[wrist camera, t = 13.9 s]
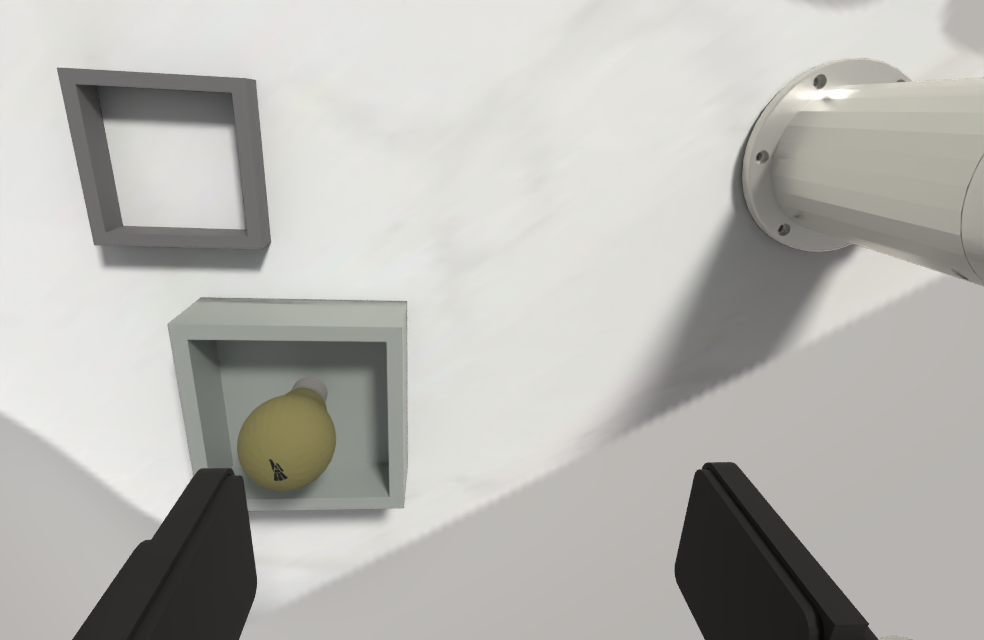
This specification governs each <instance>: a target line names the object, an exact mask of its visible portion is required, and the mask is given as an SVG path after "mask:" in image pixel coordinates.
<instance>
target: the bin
mask: <svg viewBox="0 0 984 640" xmlns="http://www.w3.org/2000/svg"><path fill="white" fill-rule="evenodd" d="M168 330H169V336H170V342H171V348H172V354H173V359H174V365H175V371H176V377H177V383H178V389H179V394H180V400H181V406H182V412H183V418H184V424H185V429H186V435H187V441H188V447H189V453H190V458H191V464H192V470H193V476H194V475H195V474H196V472H197V471H198V470H199V469H201V468H231V469H233V471H234V474H235V475H241V476H242V477H243V479H244V485H245V493H246V500H247V508H248V511H286V510H339V509H392V508H404V502H405V491H406V480H407V468H408V426H407V301H362V300H308V299H254V298H200V299H198V300H197V301H196V302H195V303H193V304H192V305H191V306H190V307H188V308H187V309H186V310H185V311H183V312H182V313H181V314H180V315H178V316H177V317H176V318H174V319H173V320H172V321H171V322H169V323H168ZM305 377H314V378H317V379H319V380H321V381H322V382H323V383H324V384H325V386H326V388H327V391H328V395H327V399H326V401H325V404H326V407H327V412H328V413H329V415H330V417H331V419H332V421H333V424H334V427H335V431H336V446H335V452H334V454H333V457H332V460H331V462H330V464H329V465H328V467H327V468H326V470H325V471H324V472H323V473H322V474H321V475H320V476H319V477H318V478H317V479H316V480H315V481H313V482H311V483H310V484H308V485H306V486H304V487H301V488H299V489H296V490H291V491H274V490H270V489H266V488H264V487H262V486H259V485H258V484H256V483H255V482H253V481H252V480H251V479H250V478H249V477H248V476H247V475H246V473H245V472H244V470H243V469H242V466H241V464H240V462H239V459H238V454H237V440H238V436H239V432H240V429H241V427H242V425H243V423H244V421H245V420H246V419H247V417H248V416H249V415H250V414H251V412H252V411H253V410H255V409H256V408H257V407H258V406H260V405H261V404H262V403H264V402H266V401H268V400H270V399H272V398H275V397H278V396H282V395H285V394H287V393H288V392H290V391H291V390H292V388H293V386H294V384H295V383H296V382H297V381H298V380H300V379H302V378H305Z"/></svg>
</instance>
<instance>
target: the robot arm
mask: <svg viewBox="0 0 984 640" xmlns="http://www.w3.org/2000/svg"><path fill="white" fill-rule="evenodd" d="M813 81H814V84H813ZM757 154H758V158H757V159H756V156H757ZM742 183H743V192H744V197H745V200H746V203H747V206H748V210H749V212H750V213H751V215H752V217H753V218H754V220H755V222H756V224H757V225H758V226H759V227H760V228H761V229H762V230H763V231H764V232H765V233H766V234H767V235H768V236H770V237H772V238H773V239H775V240H776V241H778V242H779V243H782V244H785V245H787V246H789V247H792V248H795V249H799V250H803V251H813V252H824V251H830V250H836V249H840V248H843V247H846V246H849V245H852V244H856V245H859V246H862V247H865V248H868V249H871V250H874V251H877V252H880V253H883V254H887V255H890V256H893V257H896V258H899V259H902V260H905V261H908V262H911V263H914V264H917V265H920V266H923V267H926V268H929V269H932V270H935V271H938V272H942V273H945V274H948V275H951V276H954V277H957V278H960V279H963V280H966V281H969V282H972V283H975V284H978V285H982V286H984V77H983V78H965V79H947V80H930V81H912V80H911V79H910V78H909V77H908V76H907V75H905V74H904V73H903V72H902V71H900V70H899V69H898V68H896V67H894V66H892V65H890V64H888V63H885V62H883V61H879V60H874V59H868V58H855V59H844V60H838V61H832V62H828V63H825V64H823V65H820V66H817V67H814V68H812V69H810V70H809V71H807V72H805V73H803V74H802V75H800V76H798V77H797V78H795V79H794V80H793V81H791V82H790V83H789V84H788V85H787V86H785V87H784V88H783V89H782V90H781V91H780V92H779V93H778V94H777V95H776V96H775V97H774V98H773V100H772V101H771V102H770V103H769V104H768V105H767V106H766V108H765V110H764V111H763V113H762V114H761V116H760V118H759V119H758V121H757V122H756V124H755V126H754V129H753V131H752V133H751V136H750V138H749V140H748V143H747V147H746V151H745V155H744V159H743V171H742ZM779 227H780V228H779ZM675 578H676V582H677V584H678V586H679V588H680V590H681V592H682V594H683V596H684V598H685V600H686V602H687V604H688V607H689V609H690V610H691V613H692V615H693V616H694V618H695V620H696V622H697V625H698V627H699V628H700V630H701V633H702V635H703V637H704V639H705V640H912V639H909V638H905V637H898V636H887V637H881V638H880V639H878V638H877V637H876V636H875V635H874V634H873V632H872V631H871V630H870V629H869V627H868V625H869V623H868V622H867V621H866V620H865V618H864V617H863V616H862V615H861V614H860V612H859V611H858V610H857V609H856V608H855V606H854V605H853V604H852V603H851V602H850V600H849V599H848V598H847V597H846V596H845V595H844V593H843V592H842V591H841V590H840V588H839V587H838V586H837V585H836V584H835V582H834V581H833V580H832V579H831V578H830V576H829V575H828V574H827V573H826V572H825V570H824V569H823V568H822V567H821V566H820V564H819V563H818V562H817V561H816V560H815V558H814V557H813V556H812V555H811V554H810V552H809V551H808V550H807V549H806V548H805V546H804V545H803V544H802V543H801V542H800V540H799V539H798V538H797V537H796V536H795V534H794V533H793V532H792V531H791V530H790V528H789V527H788V526H787V525H786V524H785V522H784V521H783V520H782V519H781V518H780V516H779V515H778V514H777V513H776V512H775V510H773V508H772V507H771V506H770V504H769V503H768V502H767V501H766V500H765V498H764V497H763V496H762V495H761V493H760V492H759V491H758V490H757V489H756V488H755V486H754V485H753V484H752V483H751V482H750V480H749V479H748V478H747V477H746V475H745V474H744V473H743V472H742V471H741V469H740V468H739V467H738V466H737V465H736V464H735V463H732V462H726V463H725V462H723V463H722V462H716V463H705V464H704V465H703V467H702V470H697V471H696V472H695V475H694V479H693V484H692V489H691V494H690V498H689V502H688V507H687V512H686V516H685V521H684V526H683V531H682V535H681V539H680V544H679V549H678V553H677V558H676V563H675ZM256 588H257V575H256V568H255V560H254V553H253V545H252V538H251V530H250V523H249V515H248V508H247V500H246V493H245V485H244V479H243V477H242V476H241V475H235V474H234V471H233V469H231V468H201V469H199V470H198V471H197V472H196V474H195V475H194V477H193V478H192V480H191V481H190V483H189V484H188V486H187V487H186V489H185V490H184V492H183V493H182V494H181V496H180V497H179V499H178V500H177V502H176V503H175V505H174V506H173V508H172V509H171V511H170V512H169V514H168V515H167V517H166V518H165V520H164V521H163V523H162V524H161V526H160V527H159V529H158V531H157V532H156V533H155V535H154V537H153V538H152V539H151V540H145V541H143V542H141V543H140V544H139V545H138V546H137V547H136V549H135V550H134V551H133V553H132V554H131V556H130V557H129V559H128V560H127V562H126V563H125V564H124V566H123V567H122V569H121V570H120V571H119V573H118V574H117V576H116V577H115V579H114V580H113V582H112V583H111V584H110V586H109V588H108V589H107V590H106V592H105V593H104V595H103V596H102V597H101V599H100V600H99V602H98V603H97V605H96V606H95V608H94V609H93V610H92V612H91V613H90V615H89V616H88V618H87V619H86V621H85V622H84V624H83V625H82V626H81V628H80V629H79V631H78V632H77V634H76V635H75V637H74V638H73V639H72V640H239V638H240V635H241V633H242V630H243V627H244V625H245V622H246V619H247V617H248V614H249V611H250V609H251V606H252V604H253V601H254V598H255V594H256Z"/></svg>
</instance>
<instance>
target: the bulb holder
mask: <svg viewBox="0 0 984 640" xmlns="http://www.w3.org/2000/svg"><path fill="white" fill-rule="evenodd" d="M57 71H58V76H59V80H60V85H61V90H62V95H63V99H64V104H65V109H66V113H67V118H68V123H69V128H70V132H71V137H72V142H73V147H74V151H75V156H76V161H77V166H78V170H79V175H80V180H81V185H82V189H83V194H84V199H85V204H86V208H87V213H88V218H89V223H90V227H91V232H92V237H93V242H94V245H114V246H151V247H187V248H224V249H261V250H262V249H263V248H264V247H266V246H267V245H268V244H270V243H271V238H270V227H269V217H268V206H267V195H266V185H265V174H264V164H263V153H262V142H261V132H260V121H259V111H258V100H257V89H256V80H252V79H246V78H230V77H213V76H195V75H178V74H160V73H143V72H126V71H108V70H91V69H73V68H57ZM96 86H115V87H133V88H151V89H170V90H188V91H206V92H225V93H232V99H233V108H234V118H235V127H236V136H237V145H238V154H239V163H240V173H241V182H242V191H243V200H244V209H245V218H246V227H247V230H235V229H202V228H170V227H137V226H123V224H122V219H121V213H120V208H119V203H118V198H117V192H116V187H115V182H114V177H113V171H112V166H111V161H110V155H109V150H108V145H107V140H106V134H105V129H104V124H103V119H102V113H101V108H100V103H99V97H98V92H97V87H96Z"/></svg>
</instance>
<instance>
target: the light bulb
mask: <svg viewBox="0 0 984 640" xmlns="http://www.w3.org/2000/svg"><path fill="white" fill-rule="evenodd" d="M327 395H328V391H327V388H326V386H325V384H324V383H323V382H322V381H321V380H319V379H317V378H314V377H305V378H302V379H300V380H298V381H297V382H296V383H295V384H294V386H293V388H292V390H291V391H290V392H288V393H287V394H285V395H282V396H278V397H275V398H272V399H270V400H268V401H266V402H264V403H262V404H261V405H260V406H258V407H257V408H256V409H255V410H253V411H252V412H251V414H250V415H249V416H248V417H247V419H246V420H245V421H244V423H243V425H242V427H241V429H240V432H239V436H238V440H237V454H238V459H239V462H240V464H241V466H242V469H243V470H244V472H245V473H246V475H247V476H248V477H249V478H250V479H251V480H252V481H253V482H255V483H256V484H258V485H259V486H262V487H264V488H266V489H270V490H274V491H291V490H296V489H299V488H301V487H304V486H306V485H308V484H310V483H311V482H313V481H315V480H316V479H317V478H318V477H319V476H320V475H321V474H322V473H323V472H324V471H325V470H326V468H327V467H328V465H329V464H330V462H331V460H332V457H333V454H334V452H335V446H336V431H335V427H334V424H333V421H332V419H331V417H330V415H329V413H328V412H327V407H326V404H325V401H326V399H327Z"/></svg>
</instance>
